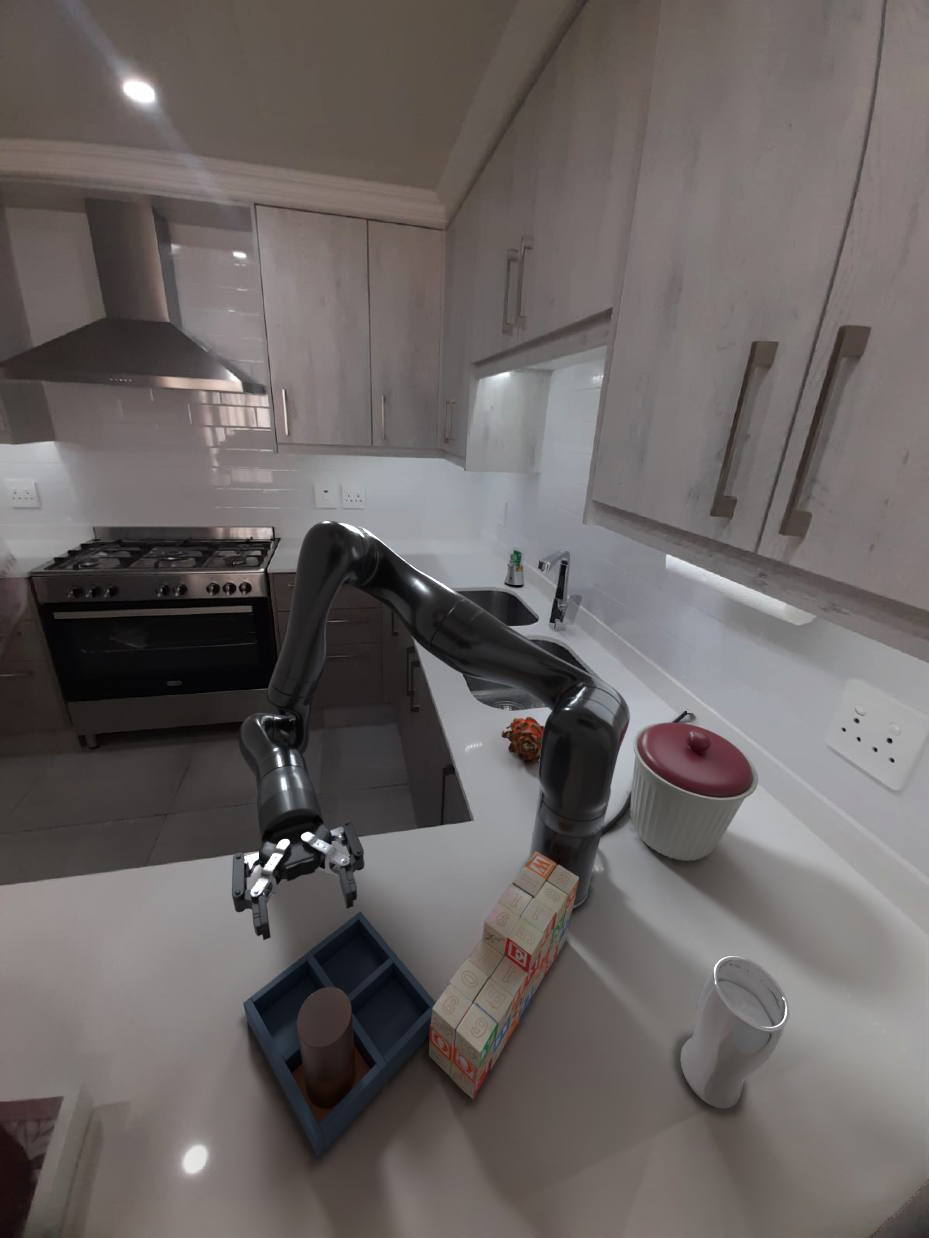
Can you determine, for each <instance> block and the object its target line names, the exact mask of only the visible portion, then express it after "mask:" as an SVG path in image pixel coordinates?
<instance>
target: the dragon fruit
mask: <svg viewBox="0 0 929 1238" xmlns="http://www.w3.org/2000/svg"><path fill="white" fill-rule="evenodd" d="M544 726H545V725H541V724H540V723H539V722H538V721H537V719H535V718H534V717H532V716H526V717H525V718H523V717H519V718H517V717H514V718H513V720H512V721H511V722H510V725H508V726H506V727H505V729H506V731H505V730H502V731H501V738H503V739H507V740H508V741H510V743H509V745H508V747H507V749H508V752H509V753H510V754H511V753H512V754H517V757H518V758H519V760H523V761H524V760H525V761H526V760H527V761H531V762H532V763H539V760H540V751H541V742H542V736H543V730H544ZM508 729H510V730H508Z"/></svg>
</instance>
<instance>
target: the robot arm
mask: <svg viewBox="0 0 929 1238" xmlns="http://www.w3.org/2000/svg"><path fill="white" fill-rule="evenodd" d="M293 583H294V584H293V590H292V594H291V601H290V608H289V612H288V618H287V619H288V620H287V624H286V630H285V634H284V638H283V642H282V645H281V648H280V651H279V654H278V658H277V660H276V662H275V665H274V668H273V671H272V674H271V676H270V680H269V683H268V687H267V689H266V698H267V701H268V703H270V704H271V705H272V706H273V707H275V708H277V709H279V710H281V711H284V712H287V713H289V714H291V715H285V714H277V713H276V714H275V713H269V712H256V713H253V714H250V715H248V716H247V717H246V718H245V719H244V720H243V722H242V723H241V725H240V726H239V730H238V735H237V741H238V742H237V743H238V748H239V751H240V754H241V756H242V758H243V760H244V762H245V764H246V765H247V766H248V768H249V770H250V771H251V773H252V775H253V776H254V777H255V785H256V792H257V795H256V809H257V820H258V827H259V835H260V845H261V847H260V848H259V850H258V852H257V853H253V854H250V855H249V854H248V855H246V856H245V852H243V851H238V852H236V853H235V854H234V855H233V856H232V870H231V872H232V875H231V878H232V879H231V898H232V902H233V906H234V910H235V912H236V913H242V912H244V911H245V910H251V911H252V912H251V913H252V925H253V929H254V930H253V931H254V934H255V935H256V937H260V936H262V940H263V941H265V940H268V939H270V938H271V937H272V935H271V928H270V927H271V926H270V918H269V910H268V902H269V900H270V899H271V898H272V895H275V894H276V893H277V892H278V890H279V888H280V887H281V885H282V883H283V882H284V880H285V881H286V882H287V883H288V882H291V881H293V880H296V879H297V878H300V877H301V876H307V875H311V874H314V873H316V870H317V869H318V870H319V871H321V872H323V873H325V874H327V875H333V876H335V877H337V878H339V884H340V888H341V891H342V896H343V899H344V903H345V906H346V909H350V908H353V907H354V901H357V899H358V886H357V882H356V879H355V876H354V873H355V872H357V871H362V870H363V869H364V868H365V866H366V865H365V850H364V848H363V846H362V845H363V844H362V843H361V841H360V838H359V835H358V834H357V831H356V828H355V826H354V823H353V821H352V820H351V819H344V820H343V821H342V822H341V826H338V827H336V828H333V829H329V828H328V827H327V826H326V824H325V822H324V818H323V814H322V810H321V807H320V802H319V799H318V795H317V791H316V789H315V785H314V783H313V781H312V780H311V777H310V773H309V769H308V766H307V765H308V764H307V761H306V758H305V756H304V754H305V752H306V751H307V749H308V747H309V743H310V729H311V728H310V722H311V712H312V708H313V707H312V706H313V701H314V698H315V695H316V693H317V689H318V687H319V684H320V682H321V679H322V676H323V673H324V671H325V667H326V662H327V656H328V655H327V654H328V652H327V651H328V648H327V621H328V616H329V612H330V609H331V607H332V604H333V601H334V599H335V597H336V595H337V594H338V591H340V588H341V587H353V588H355V589H358V590H360V591H362V592H364V593H365V594H367V595H369V596H371V597H372V598H374V599H376V600H378V601H379V602H380V603H382V604H384V605H385V606H386V607H387V608H389V609H390V610H391V611H392V613H394V614H395V615H396V617H397V618H398V619H399V620H400V622H401V623H402V625H403V626H404V627H405V629H406V630H407V632H408V633H409V634H410V635H411V637H412V638H413V639H414V640H415V642H417V644H419V645H420V646H421V647H422V648H423V649H424V650H426V651H427V652H428V653H429V654H431V655H432V656H433V657H435V658H437V659H438V660H439V661H440V662H442V663H444V664H445V665H446V666H448V667H450V668H451V669H453V670H455V672H458V673H460V674H462V675H465V676H467V677H471V678H474V679H478V680H481V681H486V682H491V683H495V684H500V685H504V686H509V687H511V688H514V689H517V690H519V691H521V692H524V693H526V694H527V695H529V696H531V698H534V699H535V700H537V701H538V702H540V703H541V704H543V705H544V706H545V707H546V708H548V709H549V710H550V713H549V715H548V717H547V718H546V720H545V724H544V725H543V726H544V730H543V736H542V742H541V751H540V759H539V761H538V769H537V776H538V781H539V783H540V785H539V790H538V797H537V805H536V812H535V816H534V817H535V818H534V823H533V829H532V836H531V842H530V848H529V855H528V861H529V860H530V859H531V857H532V856H533V855H534V853H535V852H538V853H540V854H542V855H543V856H545V857H547V858H548V859H550V860H552V861H553V862H555V863H556V864H557V865H560V866H562V867H563V868H565V869H566V870H568V871H570V872H571V873H573V874H574V875H576V876H578V877H579V882H578V886H577V891H576V896H575V901H574V905H573V909H572V910H574V909H577V908H579V907H580V906H582V905H583V904H584V902H586V900H587V897H588V895H589V891H590V884H591V880H592V875H593V872H594V867H595V863H596V860H597V859H596V858H597V854H598V850H599V846H600V842H601V837H602V835H604V834H606V833H607V832H608V831H610V830H611V829H612V828H613V827H615V825H616V824H618V822H619V821H621V820H622V818H623V817H624V816H625V815H626V813H627V811H628V810H630V809H629V808H631V793H632V789H631V790H630V793H629V794H628V797H627V798H626V801H625V803H624V805H623V806H622V808H621V809H620V811H619V812H618V813H617V814H616V815H615V816H614V817H613V818H612V819H611V820H610V821H608V822H607V823H606V824H605V819H606V815H607V811H608V806H609V804H610V803H609V802H610V798H611V795H612V789H611V788H612V787H611V786H612V782H613V777H614V773H615V769H616V765H617V760H618V757H619V754H620V753H619V752H620V750H621V746H622V744H623V742H624V739H625V736H626V734H627V731H628V728H629V725H630V721H631V713H630V708H629V705H628V703H627V702H626V700H625V698H624V697H623V696H622V694H621V693H620V692H619V691H618V690H617V689H615V687H613V686H611V685H610V684H608V683H607V682H605V681H604V680H602V679H600V678H598V677H597V676H594V675H593V674H591V673H589V672H587V671H585V670H583V669H581V668H579V667H577V666H576V665H573V664H572V663H570V662H568V661H566V660H564V659H562V658H560V657H558V656H557V655H555V654H553V653H551V652H550V651H548V650H546V649H544V648H543V647H541V646H540V645H538V644H537V643H535V642H534V641H532V640H530V639H529V638H528V637H526V636H524V635H523V634H522V633H520V632H518V631H517V630H515V629H513V628H512V627H510V626H509V625H507V624H505V623H504V622H503V621H501V620H499V619H498V618H497V617H496V616H494V615H493V614H491V612H488V611H487V610H485V609H484V608H482V607H481V606H480V605H478V604H476V603H475V602H473V601H472V600H471V599H469V598H467V597H466V596H464V595H462V594H461V593H459V592H458V591H456V590H454V589H452V588H451V587H449V586H447V585H446V584H444V583H442V582H441V581H439V580H437V579H436V578H434V577H432V576H430V575H428V574H426V573H425V572H423V571H420V570H419V569H418V568H416V567H414V566H413V565H411V564H410V563H409V562H407V560H405V559H404V558H402V557H401V556H400V555H399V554H397V553H396V552H395V551H394V550H393V549H392V548H390V547H389V546H388V545H387V544H385V543H384V542H383V541H382V540H381V539H379V537H377V536H376V535H375V534H373V532H371V531H369V530H368V529H366V528H364V527H362V526H360V525H359V526H358V525H355V524H350V523H345V522H341V521H335V520H324V521H320V522H318V523H315V524H314V525H313V526H311V528H309V530H307V532H306V534H305V535H304V537H303V540H302V543H301V545H300V550H299V554H298V559H297V564H296V571H295V578H294V582H293ZM688 714H689V713H687V711H686V710H684V711H683V712H682V713H681V714H680V715H679V716H678V717H676V718H675V719H673V721H672V722H673V723H680V721H682V720H683V719H684V718H685V717H686V716H687V715H688ZM689 715H690V714H689ZM604 824H605V825H604ZM335 841H336V842H337V843H338V844H339V845H341V846H342V847H346V850H347V852H348V855H349V856H347V855H345V854H343V853H341V852H339V851H337V848H336V847H334V846H333V845H332V844H333V842H335ZM528 861H527V862H528ZM258 866H260V867H261V868H262V869H261V872H260V876H259V878H258V879H257V880H256V882H255V884H254V885H253V887H252V888H251V889H248V879H249V878H251V877H252V874H253V873H254V871H255V869H256V867H258Z"/></svg>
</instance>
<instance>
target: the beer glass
mask: <svg viewBox="0 0 929 1238" xmlns="http://www.w3.org/2000/svg"><path fill="white" fill-rule="evenodd" d="M789 1018H790V1006H789V1002H788V999H787V997H786V995H785V992H784V991H783V989H782V987H781V986H780V984H779V982H777V980H776V979H775V978H774V977H773V976H772V975H771V974H770V973H769V972H768V971H767V970H766V969H764V968H763V967H762V966H760V965H759V964H758V963H756V962H754V961H752V960H750V959H748V958H746V957H743V956H737V955H728V956H724V957H722V958H720V959H719V960H717V962H716V963H715V965H714V967H713V969H712V971H711V972H710V974H709V976H708V977H707V978H706V980H705V983H704V985H703V986H702V988H701V991H700V994H699V997H698V1000H697V1005H696V1011H695V1020H694V1030H693V1034H692V1036H691V1037H690V1038H689V1039H687V1041H686V1042H685V1043H684V1044H683V1045H682V1047H681V1050H680V1058H679V1059H680V1067H681V1071H682V1074H683V1077H684V1078H685V1080H686V1082H687V1084H688V1086H689V1087H690V1088H691V1090H692V1091H693V1092H694V1093H695V1095H696V1096H698V1097H699V1098H700V1099H701V1100H702V1101H703V1102H705V1103H706V1104H708V1105H710V1106H711V1107H714V1108H715V1109H721V1110H722V1109H723V1110H725V1109H731V1108H732V1107H734V1106H735V1105H736V1104H737V1103H739V1100H740V1098H741V1095H742V1091H743V1086H744V1085H743V1084H744V1080H745V1079H746V1078H747V1077H749V1076H750V1075H752V1074H753V1073H754V1072H756V1071H757V1070H758V1069H760V1068H761V1067H762V1066H763V1065H764V1064H765V1063H766V1062H767V1061H769V1059H770V1058H771V1056H772V1055H773V1053H774V1052H775V1050H776V1049H777V1047H778V1045H779V1042H781V1041H780V1040H781V1038H782V1035H783V1032H784V1030H785V1027H786V1025H787V1024H788V1021H789Z"/></svg>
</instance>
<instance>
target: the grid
mask: <svg viewBox="0 0 929 1238" xmlns="http://www.w3.org/2000/svg"><path fill="white" fill-rule="evenodd" d="M326 987H335V988H338V989H340V990H342V991H343V992H344V993H345V994H346V995H347V996H348V998H349V1000H350V1003H351V1008H352V1022H353V1037H354V1051H355V1066H356V1075H355V1081H354V1084H353V1087H352V1089H351V1091H350V1092H349V1093H348V1094H347V1095H346V1096H345V1097H344V1098H343V1099H342V1100H341V1102H340V1103H339V1104H338V1105H336V1106H334V1107H331V1108H320V1107H317V1106H316V1105H314V1104H313V1103H312V1102H311V1100H310V1099H309V1097H308V1095H307V1091H306V1084H305V1078H304V1071H303V1065H302V1058H301V1051H300V1045H299V1038H298V1032H297V1018H298V1014H299V1011H300V1009H301V1007H302V1005H303V1003H304V1002H305V1001H306V999H307V998H308V997H309V996H310V995H311V994H313V993H314V992H316V991H317V990H319V989H322V988H326ZM436 1002H437V1001H435V999H434V998H433V997H432V996H431V995H430V994H429V993H428V991H427V990H426V989H425V988H424V986H423V985H422V984H421V983H420V981H419V980H418V979H417V978H416V977H415V975H414V974H413V973H412V972H411V971H410V969H409V968H408V967H407V966H406V965H405V963H404V962H403V961H402V960H401V958H400V957H399V956H398V954H396V952H395V951H394V950H393V949H392V948H391V947H390V945H389V944H388V943H387V942H386V941H385V939H384V938H383V937H382V936H381V934H380V933H379V931H377V929H376V928H375V927H374V926H373V924H371V922H370V921H369V920H368V919H367V918H366V916H365V915H364V914H363V913H362V912H361V911H359V912H357V913H356V914H355V915H353V916H352V917H351V918H350V919H348V920H347V921H345V922H344V923H343V924H342V925H341V926H339V927H338V928H337V929H336V930H334V931H333V932H332V933H330V934H329V935H328V936H326V937H325V938H324V939H323V940H322V941H320V942H319V943H318V944H316V945H315V946H314V947H312V948H311V949H310V950H308V952H306V953H305V954H304V955H303V956H301V957H300V958H298V959H297V960H296V961H294V962H293V963H292V964H291V965H290V966H288V967H287V968H286V969H284V970H283V971H282V972H280V974H278V975H277V976H276V977H274V978H273V979H272V980H271V981H269V982H268V983H266V984H265V985H264V986H262V987H261V988H260V989H259V990H257V992H255V993H254V994H252V995H251V996H250V997H249V998H247V999H246V1000H244V1002H243V1003H242V1004H243V1008H244V1014H245V1017H246V1022H247V1023H248V1025H249V1027H250V1030H251V1032H252V1033H253V1035H254V1037H255V1039H256V1041H257V1043H258V1045H259V1047H260V1049H261V1051H262V1053H263V1055H264V1056H265V1059H266V1060H267V1063H268V1064H269V1066H270V1068H271V1070H272V1072H273V1074H274V1076H275V1078H276V1080H277V1082H278V1084H279V1085H280V1087H281V1089H282V1091H283V1093H284V1095H285V1098H286V1099H287V1101H288V1103H289V1105H290V1107H291V1109H292V1110H293V1113H294V1115H295V1117H296V1119H297V1120H298V1122H299V1124H300V1127H301V1129H302V1131H303V1133H304V1134H305V1136H306V1138H307V1140H308V1142H309V1145H310V1146H311V1148H312V1150H313V1152H314V1154H315V1156H316V1158H317V1159H319V1158H320V1157H321V1156H322V1155H323V1154H324V1152H325V1151H326V1150H327V1149H328V1148H329V1147H330V1146H331V1145H332V1144H333V1142H335V1141H336V1139H337V1138H338V1137H339V1136H340V1135H341V1134H342V1133H343V1131H345V1129H346V1128H347V1127H348V1126H349V1125H350V1124H351V1123H352V1122H353V1120H354V1119H356V1117H357V1116H358V1115H359V1114H360V1113H361V1112H362V1110H364V1108H365V1107H366V1106H367V1105H368V1104H369V1103H370V1101H372V1099H373V1098H374V1097H375V1096H376V1095H377V1094H378V1092H380V1090H381V1089H382V1088H383V1087H384V1086H385V1085H386V1084H387V1083H388V1081H389V1080H391V1079H392V1078H393V1076H394V1075H395V1074H396V1073H397V1072H398V1071H399V1069H400V1068H401V1067H402V1066H403V1065H404V1064H405V1063H406V1062H407V1061H408V1060H409V1058H410V1057H411V1056H412V1055H413V1054H414V1053H415V1052H416V1050H417V1049H419V1048H420V1046H421V1045H422V1044H423V1043H424V1042H425V1041H426V1040H427V1039H428V1038H429V1034H430V1025H431V1018H432V1007H433V1006H434V1005H435V1003H436Z"/></svg>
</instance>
